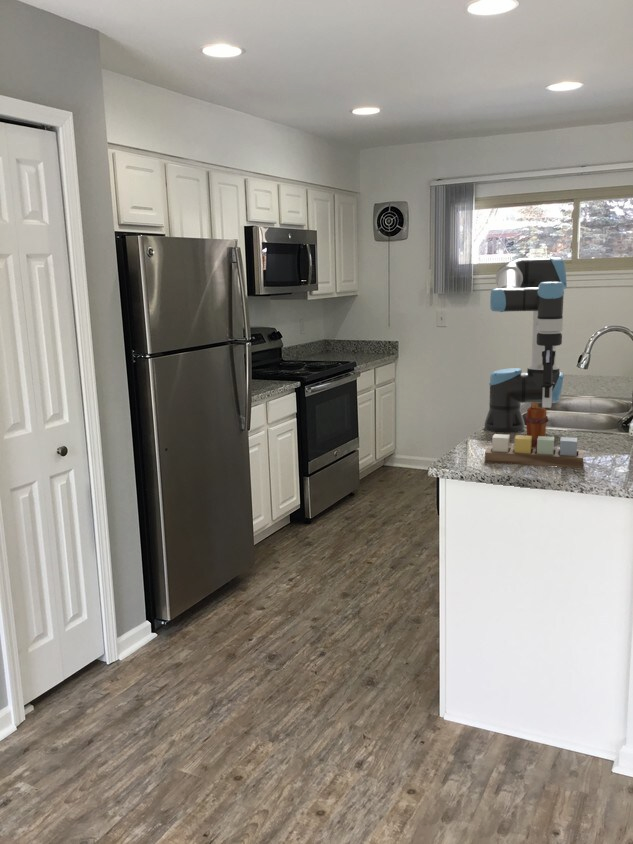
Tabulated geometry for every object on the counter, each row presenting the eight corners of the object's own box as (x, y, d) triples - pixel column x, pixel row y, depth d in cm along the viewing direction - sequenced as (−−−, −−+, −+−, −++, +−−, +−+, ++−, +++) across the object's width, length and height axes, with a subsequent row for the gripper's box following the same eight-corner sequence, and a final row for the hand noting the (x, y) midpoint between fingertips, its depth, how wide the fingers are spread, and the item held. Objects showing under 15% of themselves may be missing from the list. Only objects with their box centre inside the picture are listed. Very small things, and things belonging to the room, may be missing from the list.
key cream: (494, 448, 241) (494, 434, 240) (509, 449, 239) (509, 434, 238) (492, 452, 236) (492, 437, 235) (507, 453, 234) (508, 438, 233)
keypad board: (488, 455, 244) (488, 445, 244) (582, 460, 234) (583, 449, 233) (484, 462, 235) (485, 452, 234) (582, 468, 225) (583, 457, 224)
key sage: (537, 450, 236) (538, 436, 235) (553, 451, 234) (554, 436, 233) (536, 454, 231) (537, 439, 230) (553, 455, 230) (553, 440, 228)
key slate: (560, 452, 233) (560, 437, 232) (576, 453, 232) (577, 437, 231) (559, 456, 229) (560, 440, 228) (576, 457, 227) (577, 441, 226)
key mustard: (515, 449, 238) (516, 435, 237) (531, 450, 237) (531, 435, 235) (514, 453, 234) (514, 438, 233) (530, 454, 232) (530, 439, 231)
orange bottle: (549, 452, 245) (550, 408, 242) (524, 451, 247) (525, 408, 244) (544, 441, 259) (546, 400, 256) (521, 441, 261) (522, 400, 258)
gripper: (538, 329, 233) (536, 401, 238) (535, 334, 219) (532, 410, 224) (562, 329, 230) (560, 402, 235) (561, 334, 216) (558, 411, 221)
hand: (546, 406), depth 229 cm, fingers open, 2 cm apart
